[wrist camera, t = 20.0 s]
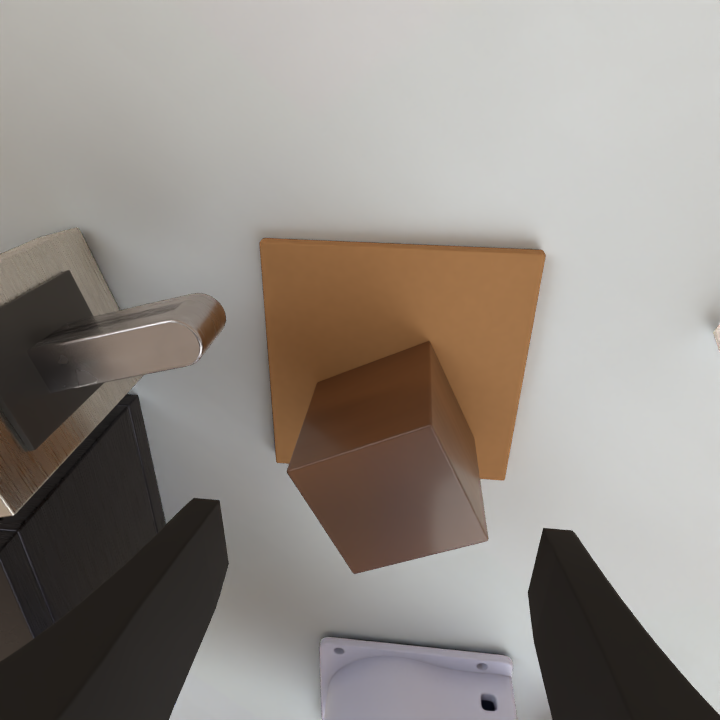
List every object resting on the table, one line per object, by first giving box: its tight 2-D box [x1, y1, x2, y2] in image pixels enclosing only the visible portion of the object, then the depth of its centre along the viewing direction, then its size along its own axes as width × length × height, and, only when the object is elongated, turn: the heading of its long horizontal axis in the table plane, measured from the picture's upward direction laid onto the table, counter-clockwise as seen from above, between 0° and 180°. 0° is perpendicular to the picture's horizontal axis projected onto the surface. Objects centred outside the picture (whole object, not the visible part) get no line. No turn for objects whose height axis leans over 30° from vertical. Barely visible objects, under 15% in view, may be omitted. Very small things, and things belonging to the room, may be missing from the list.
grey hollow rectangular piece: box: [0, 227, 226, 518], centre depth 15 cm, size 7×6×8 cm
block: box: [287, 341, 488, 574], centre depth 17 cm, size 4×4×5 cm
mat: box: [260, 238, 546, 480], centre depth 19 cm, size 9×9×1 cm
